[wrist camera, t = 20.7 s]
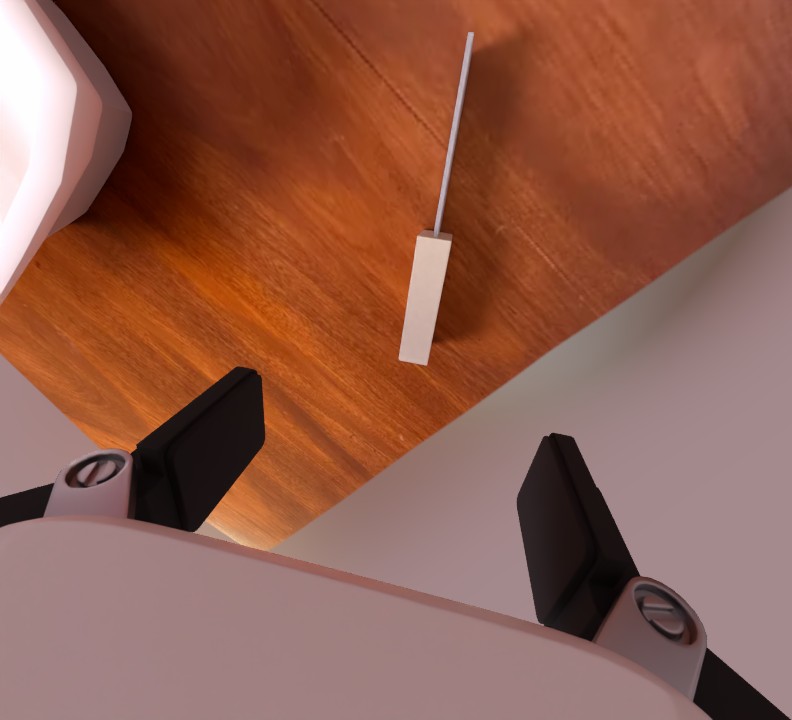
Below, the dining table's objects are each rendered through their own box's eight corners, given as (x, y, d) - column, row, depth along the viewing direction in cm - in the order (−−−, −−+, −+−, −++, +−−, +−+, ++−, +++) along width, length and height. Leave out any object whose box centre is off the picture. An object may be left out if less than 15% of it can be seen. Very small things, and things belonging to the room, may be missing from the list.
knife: (430, 344, 29) (427, 365, 25) (405, 339, 29) (398, 360, 25) (487, 56, 20) (494, 27, 16) (450, 52, 20) (449, 22, 16)
